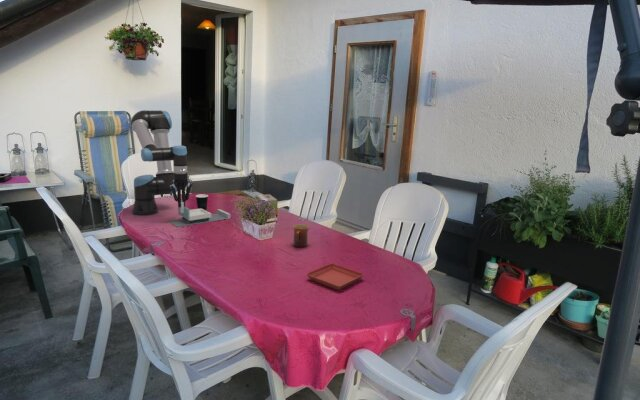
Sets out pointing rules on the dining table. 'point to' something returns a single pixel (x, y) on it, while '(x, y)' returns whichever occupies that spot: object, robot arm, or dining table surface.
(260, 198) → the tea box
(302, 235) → the mug
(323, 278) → the plant saucer
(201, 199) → the dixie cup
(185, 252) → the dining table surface
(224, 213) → the track
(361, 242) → the dining table surface
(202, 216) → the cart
